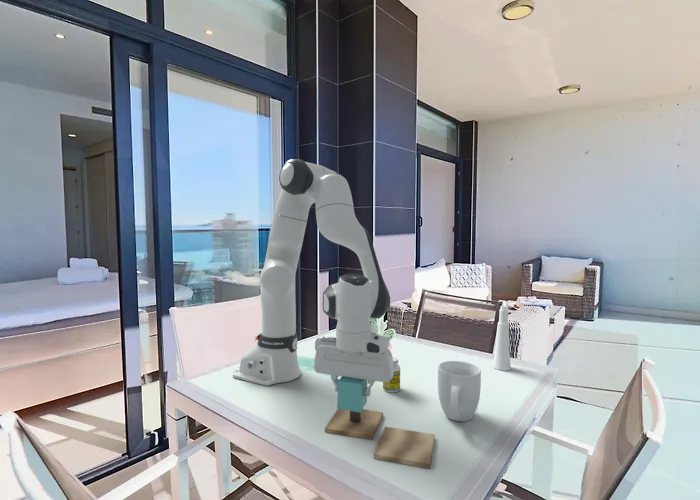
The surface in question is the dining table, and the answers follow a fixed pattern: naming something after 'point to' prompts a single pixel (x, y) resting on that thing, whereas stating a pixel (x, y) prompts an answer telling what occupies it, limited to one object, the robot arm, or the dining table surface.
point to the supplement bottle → (393, 378)
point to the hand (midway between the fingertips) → (352, 393)
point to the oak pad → (405, 447)
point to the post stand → (355, 423)
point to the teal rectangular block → (351, 394)
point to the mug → (459, 389)
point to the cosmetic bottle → (502, 342)
